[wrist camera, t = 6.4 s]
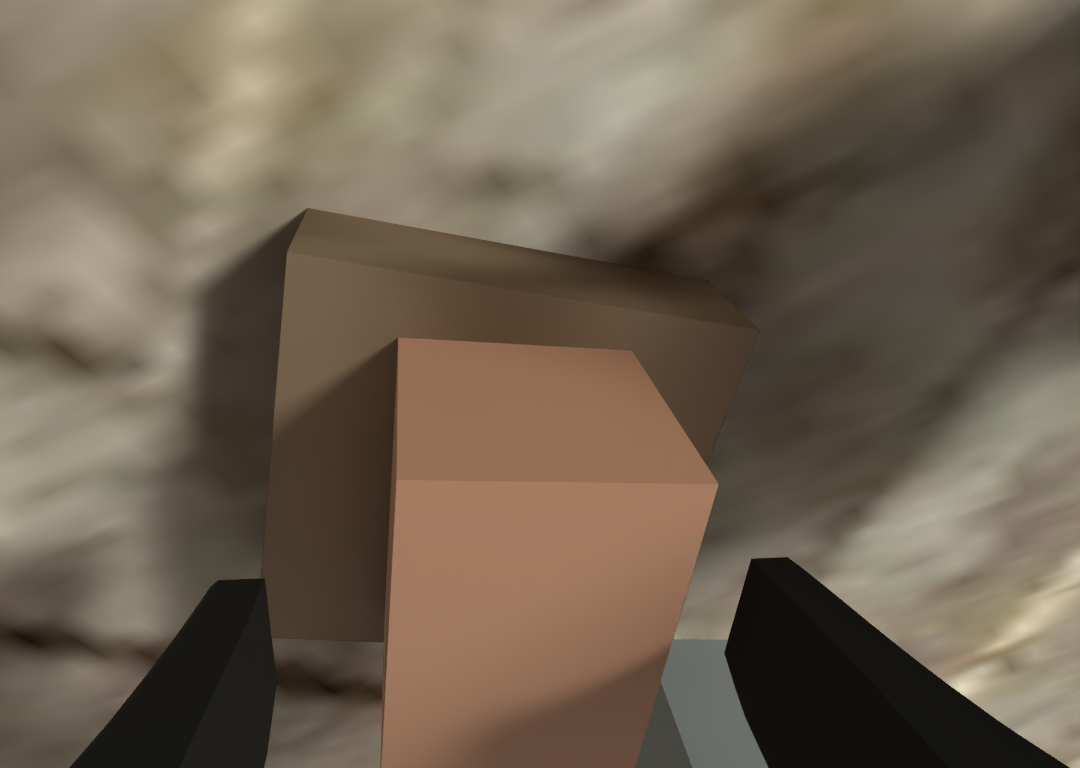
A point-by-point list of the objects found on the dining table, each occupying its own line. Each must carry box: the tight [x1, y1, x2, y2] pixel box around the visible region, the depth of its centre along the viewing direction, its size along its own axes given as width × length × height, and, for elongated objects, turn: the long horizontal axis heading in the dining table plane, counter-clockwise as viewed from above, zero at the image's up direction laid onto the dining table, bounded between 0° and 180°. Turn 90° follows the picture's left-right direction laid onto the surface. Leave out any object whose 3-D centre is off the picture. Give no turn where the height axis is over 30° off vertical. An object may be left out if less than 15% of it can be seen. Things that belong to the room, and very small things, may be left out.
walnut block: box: [261, 208, 759, 642], centre depth 15 cm, size 8×8×3 cm
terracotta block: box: [380, 338, 719, 768], centre depth 12 cm, size 4×6×4 cm, turn 172°
